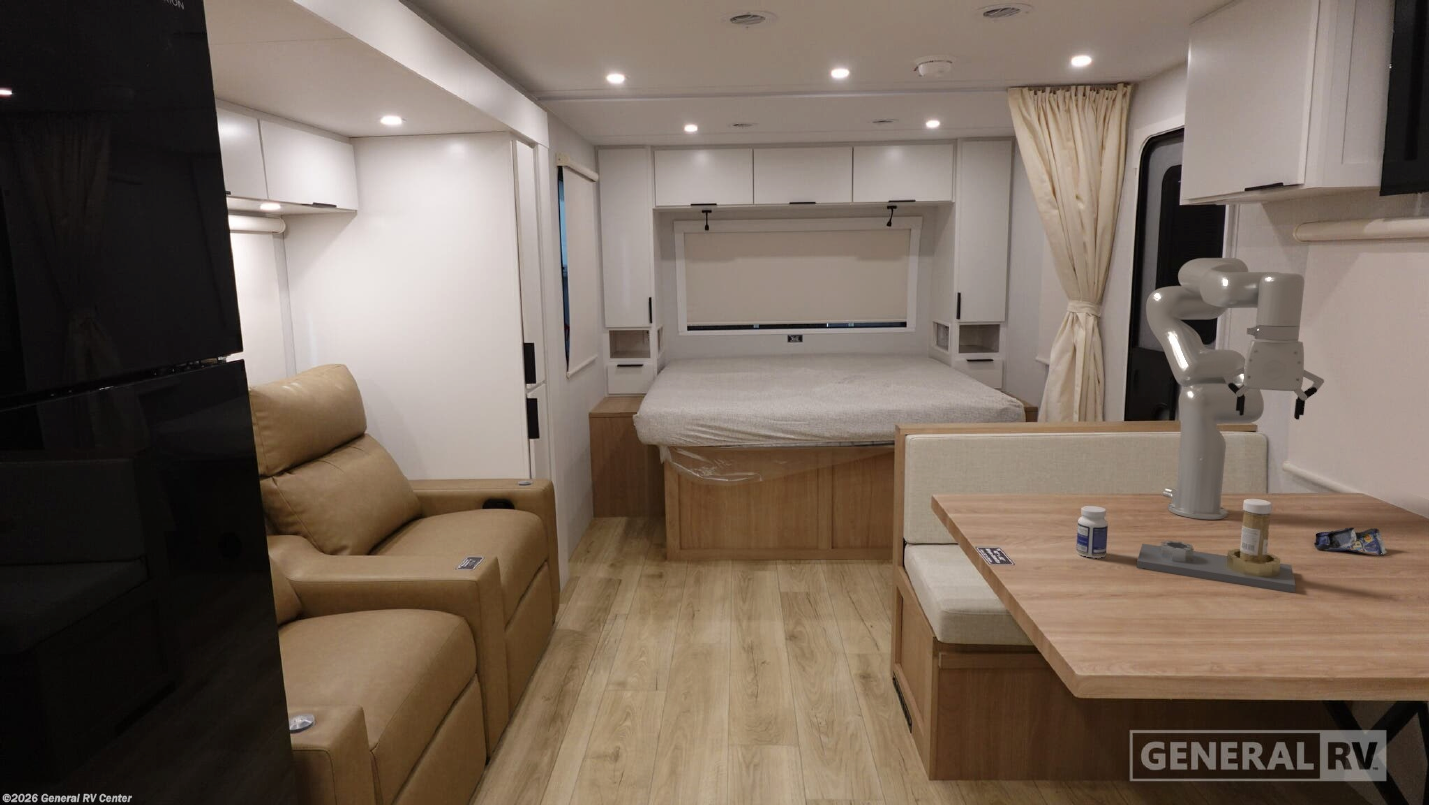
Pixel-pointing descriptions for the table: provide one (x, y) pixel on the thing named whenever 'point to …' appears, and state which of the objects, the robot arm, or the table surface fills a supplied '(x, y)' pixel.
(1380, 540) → the snack package
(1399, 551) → the table surface
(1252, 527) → the sprinkles bottle
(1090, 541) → the pill bottle
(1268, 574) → the brass collar
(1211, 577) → the mounting board
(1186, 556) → the steel collar
